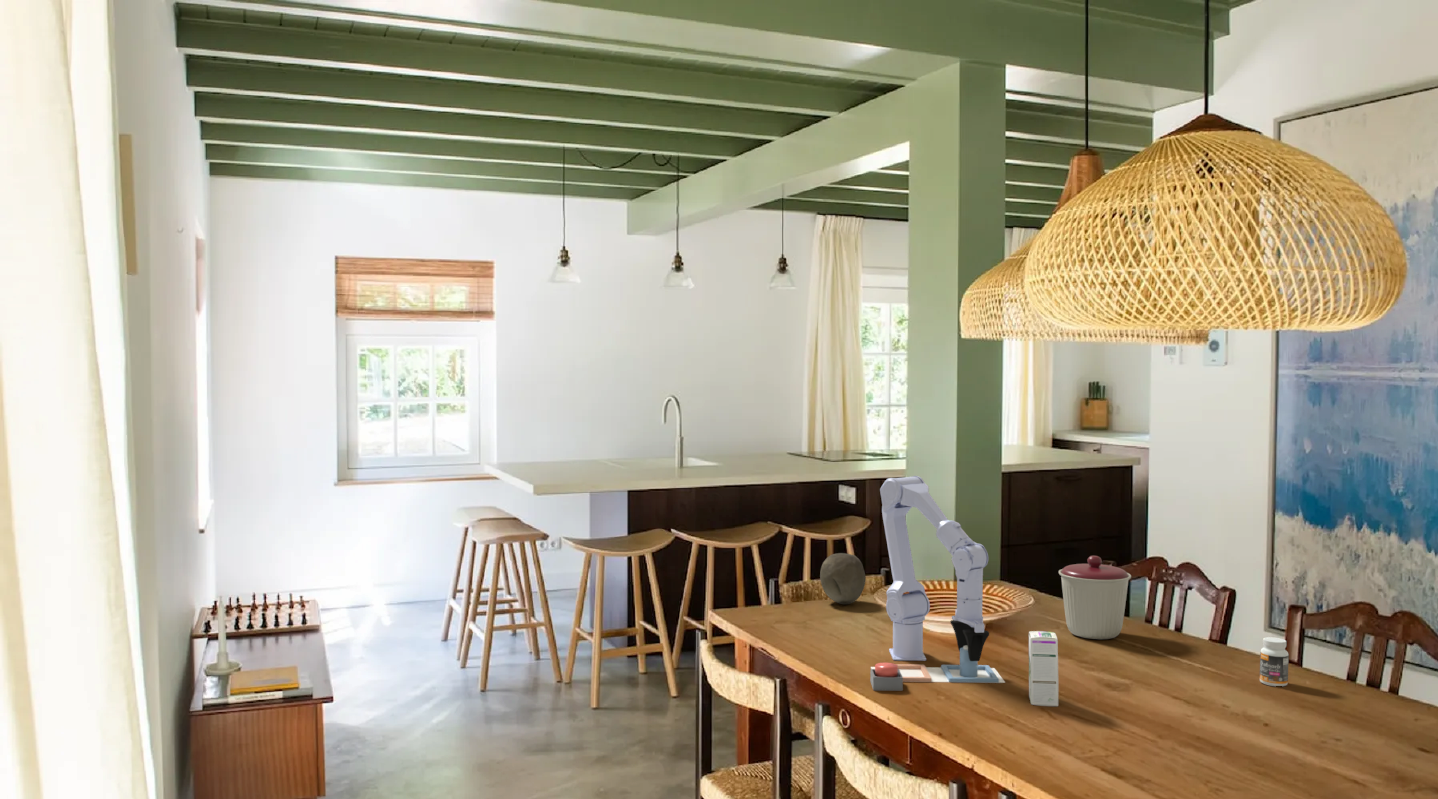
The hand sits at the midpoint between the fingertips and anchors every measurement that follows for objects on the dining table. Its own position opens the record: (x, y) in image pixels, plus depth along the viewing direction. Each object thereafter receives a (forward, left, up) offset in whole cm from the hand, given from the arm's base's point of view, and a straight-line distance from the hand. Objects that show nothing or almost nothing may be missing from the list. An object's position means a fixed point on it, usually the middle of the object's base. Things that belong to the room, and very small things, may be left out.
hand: (969, 656), depth 246 cm
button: (+9, -20, -2) cm, 22 cm away
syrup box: (+19, +12, -5) cm, 23 cm away
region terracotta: (0, -15, -4) cm, 16 cm away
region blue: (0, 0, -4) cm, 4 cm away
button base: (+9, -20, -5) cm, 22 cm away
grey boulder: (-74, -23, -5) cm, 78 cm away
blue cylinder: (0, 0, -4) cm, 4 cm away
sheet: (0, -7, -5) cm, 9 cm away
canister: (-38, +40, -5) cm, 56 cm away
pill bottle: (+4, +67, -5) cm, 67 cm away
